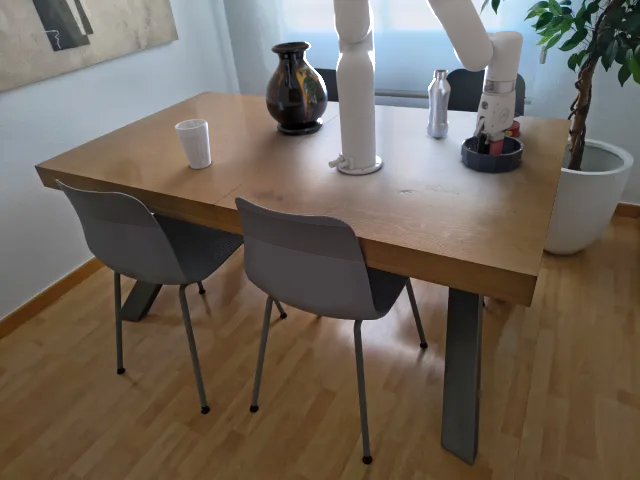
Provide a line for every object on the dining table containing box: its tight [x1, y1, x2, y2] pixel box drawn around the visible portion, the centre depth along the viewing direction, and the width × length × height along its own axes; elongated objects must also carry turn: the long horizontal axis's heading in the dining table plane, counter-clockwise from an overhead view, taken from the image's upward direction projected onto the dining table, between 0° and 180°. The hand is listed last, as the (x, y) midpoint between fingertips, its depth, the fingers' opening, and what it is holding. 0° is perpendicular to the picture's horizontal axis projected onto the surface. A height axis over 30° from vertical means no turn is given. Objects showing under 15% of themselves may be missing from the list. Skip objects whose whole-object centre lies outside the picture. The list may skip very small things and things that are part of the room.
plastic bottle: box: [426, 69, 452, 138], centre depth 137 cm, size 6×7×20 cm
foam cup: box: [174, 118, 212, 170], centre depth 136 cm, size 10×9×13 cm
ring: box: [460, 135, 525, 174], centre depth 122 cm, size 15×15×5 cm
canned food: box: [505, 111, 521, 138], centre depth 138 cm, size 11×10×10 cm
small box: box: [477, 132, 505, 155], centre depth 121 cm, size 5×4×8 cm
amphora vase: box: [265, 41, 329, 136], centre depth 152 cm, size 22×22×28 cm
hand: (488, 153), depth 122 cm, fingers closed on small box, 4 cm apart
